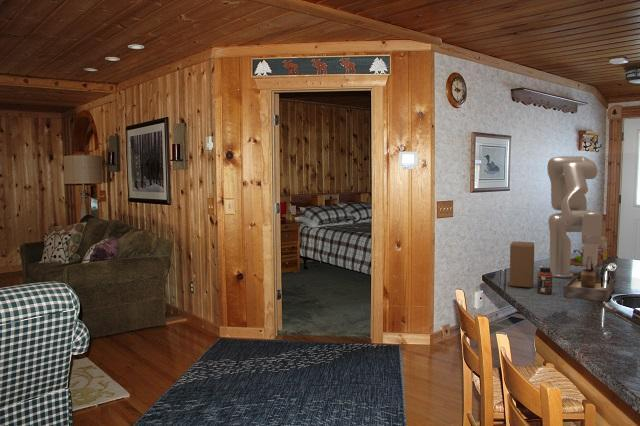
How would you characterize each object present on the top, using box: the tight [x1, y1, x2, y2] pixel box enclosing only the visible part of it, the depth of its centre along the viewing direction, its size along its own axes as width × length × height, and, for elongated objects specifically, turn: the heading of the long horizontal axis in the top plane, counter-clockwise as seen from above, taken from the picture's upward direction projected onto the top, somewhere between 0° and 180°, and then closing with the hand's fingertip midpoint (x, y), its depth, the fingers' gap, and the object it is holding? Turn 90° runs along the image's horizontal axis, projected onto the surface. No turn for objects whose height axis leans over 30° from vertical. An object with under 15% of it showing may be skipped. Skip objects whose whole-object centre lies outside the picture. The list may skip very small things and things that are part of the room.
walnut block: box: [580, 268, 597, 288], centre depth 213 cm, size 5×5×6 cm
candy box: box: [597, 236, 608, 261], centre depth 294 cm, size 9×4×15 cm, turn 29°
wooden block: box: [509, 240, 535, 289], centre depth 232 cm, size 10×10×20 cm
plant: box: [570, 246, 604, 268], centre depth 282 cm, size 20×20×11 cm
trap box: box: [563, 274, 615, 303], centre depth 216 cm, size 16×28×4 cm, turn 145°
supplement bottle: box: [536, 266, 553, 295], centre depth 216 cm, size 6×6×11 cm
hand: (590, 281), depth 217 cm, fingers closed
